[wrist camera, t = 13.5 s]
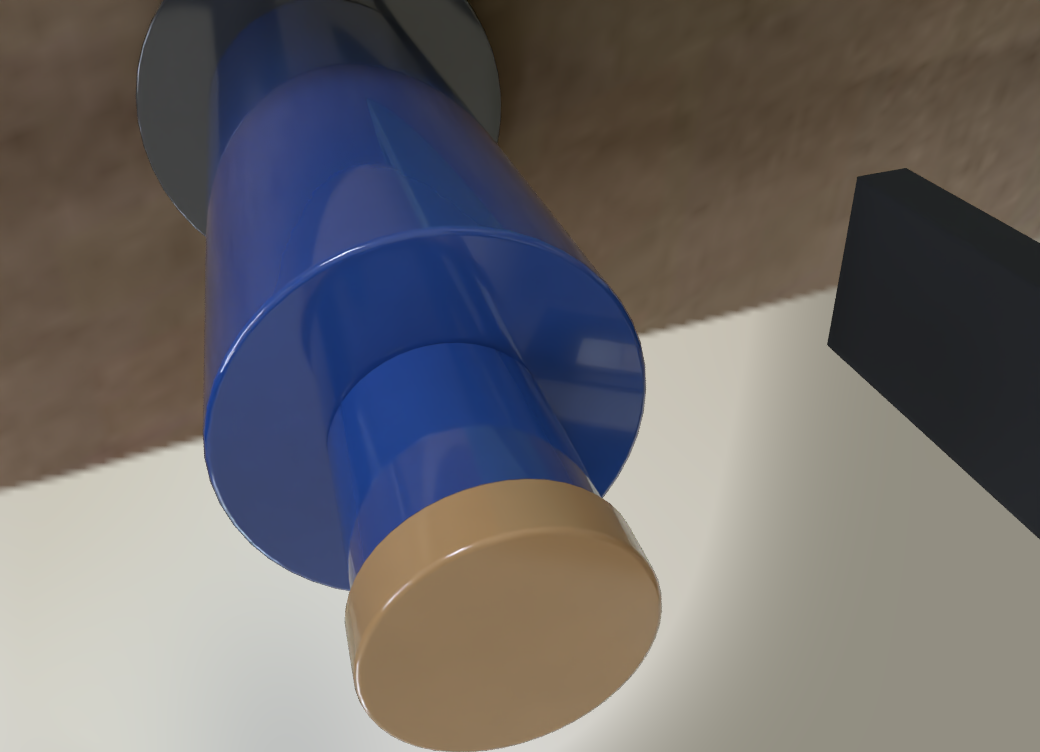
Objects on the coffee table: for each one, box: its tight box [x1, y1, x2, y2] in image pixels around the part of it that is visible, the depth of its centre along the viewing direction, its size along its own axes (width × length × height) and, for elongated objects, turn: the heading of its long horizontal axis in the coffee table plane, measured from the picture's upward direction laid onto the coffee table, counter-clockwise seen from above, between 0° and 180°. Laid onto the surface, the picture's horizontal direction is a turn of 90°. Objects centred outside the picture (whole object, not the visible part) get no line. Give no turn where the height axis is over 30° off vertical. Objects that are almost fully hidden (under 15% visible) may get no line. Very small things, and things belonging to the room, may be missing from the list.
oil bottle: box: [203, 0, 662, 752], centre depth 14 cm, size 5×5×15 cm
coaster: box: [136, 0, 501, 237], centre depth 20 cm, size 8×8×1 cm
